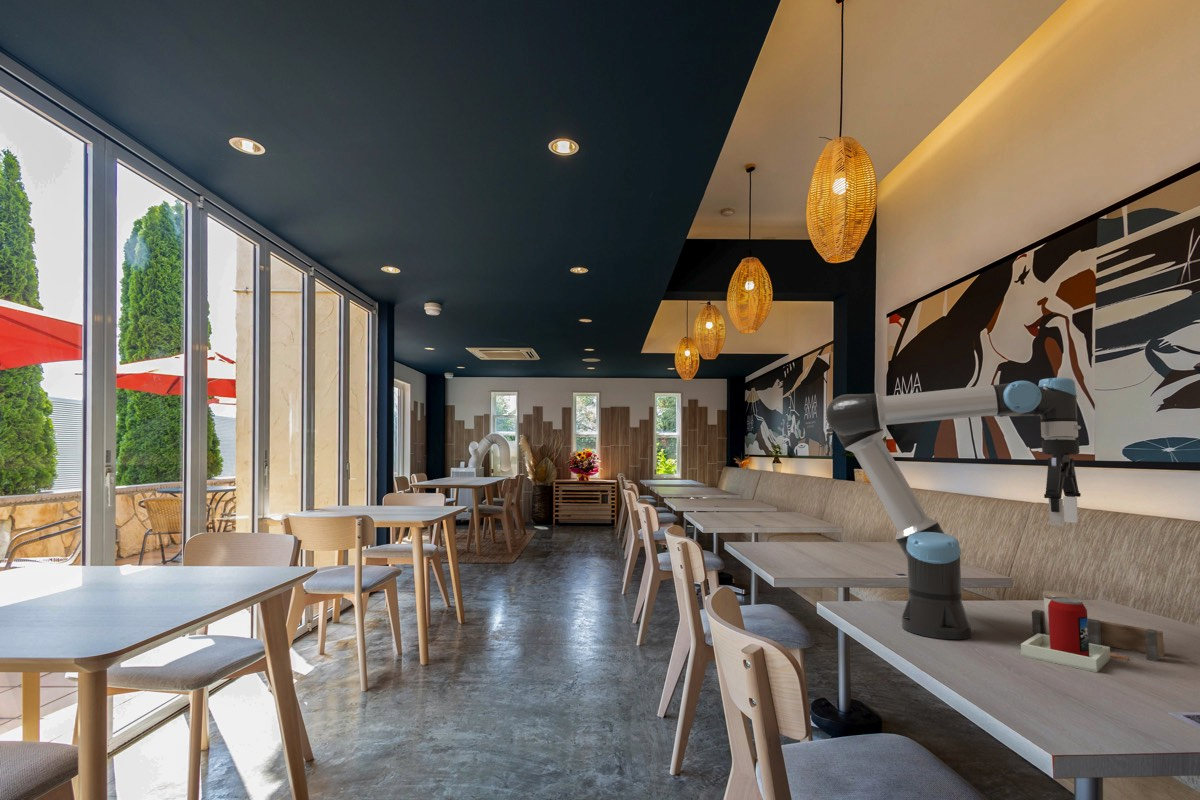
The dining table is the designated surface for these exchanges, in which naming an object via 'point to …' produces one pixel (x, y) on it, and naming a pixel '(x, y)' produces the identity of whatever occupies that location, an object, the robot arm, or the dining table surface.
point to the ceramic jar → (1047, 599)
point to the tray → (1065, 654)
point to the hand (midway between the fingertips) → (1064, 524)
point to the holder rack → (1115, 636)
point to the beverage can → (1068, 626)
